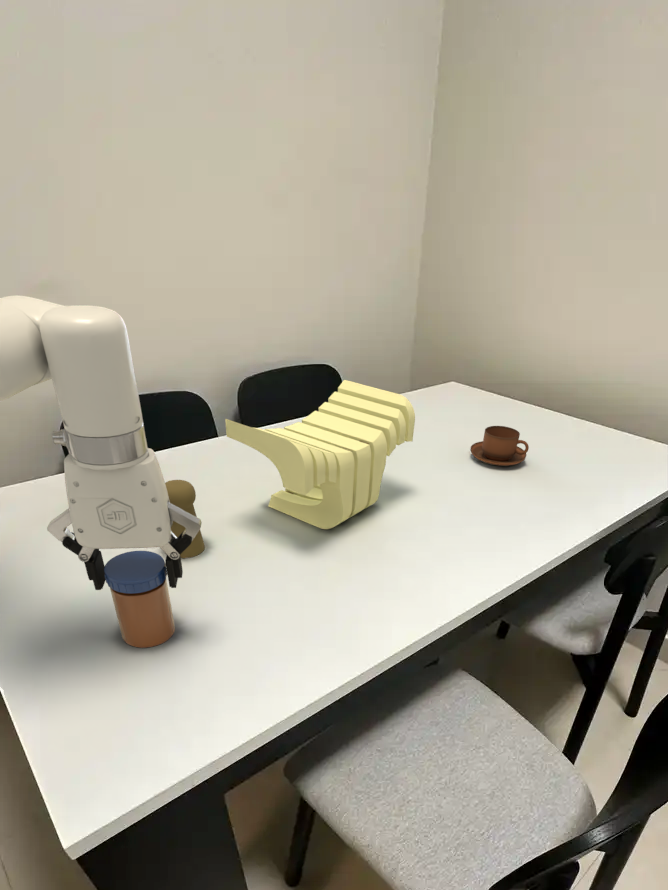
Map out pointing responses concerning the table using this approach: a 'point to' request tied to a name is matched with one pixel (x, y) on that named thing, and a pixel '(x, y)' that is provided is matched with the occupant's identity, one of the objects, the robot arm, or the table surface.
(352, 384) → the slatted curved stool
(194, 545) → the olive game pawn
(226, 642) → the table surface
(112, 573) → the jar lid
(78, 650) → the table surface
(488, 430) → the cup and saucer
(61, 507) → the table surface
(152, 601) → the jam jar
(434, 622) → the table surface
